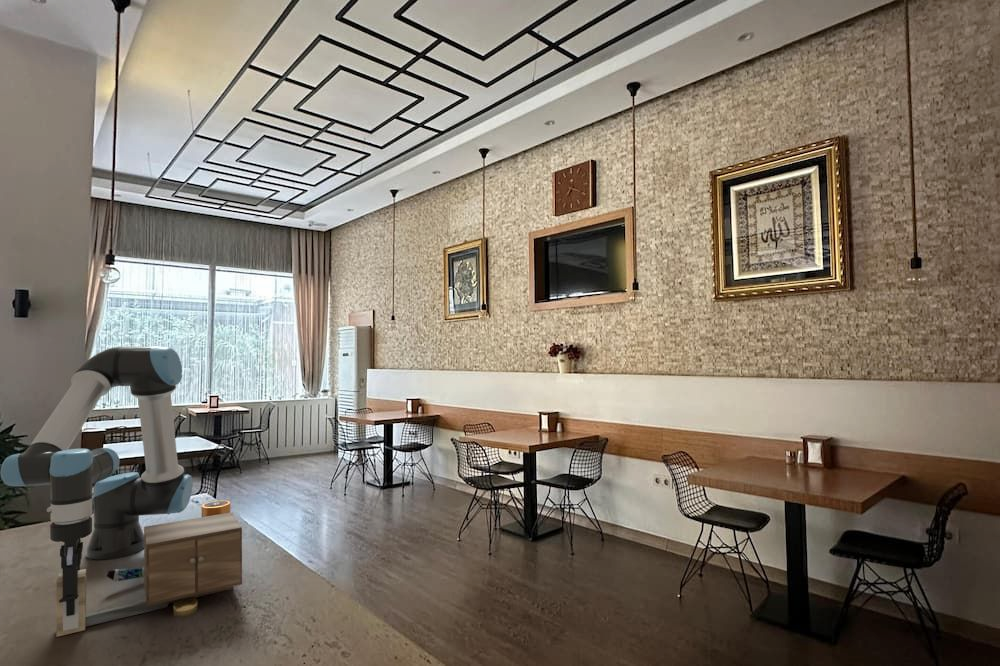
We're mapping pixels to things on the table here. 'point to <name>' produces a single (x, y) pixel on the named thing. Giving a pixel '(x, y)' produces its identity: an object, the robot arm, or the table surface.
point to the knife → (125, 574)
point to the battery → (215, 508)
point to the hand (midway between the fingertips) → (71, 622)
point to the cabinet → (192, 558)
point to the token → (185, 607)
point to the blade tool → (100, 615)
